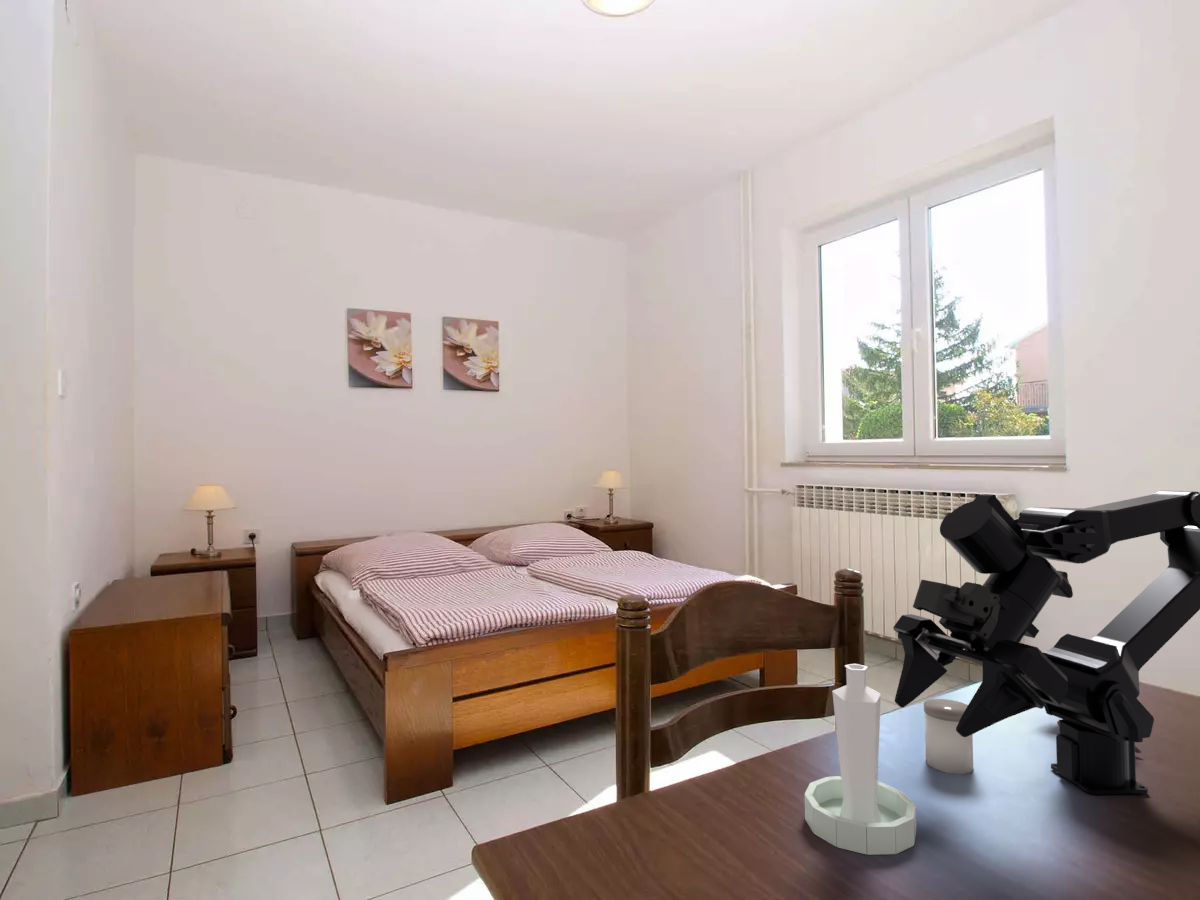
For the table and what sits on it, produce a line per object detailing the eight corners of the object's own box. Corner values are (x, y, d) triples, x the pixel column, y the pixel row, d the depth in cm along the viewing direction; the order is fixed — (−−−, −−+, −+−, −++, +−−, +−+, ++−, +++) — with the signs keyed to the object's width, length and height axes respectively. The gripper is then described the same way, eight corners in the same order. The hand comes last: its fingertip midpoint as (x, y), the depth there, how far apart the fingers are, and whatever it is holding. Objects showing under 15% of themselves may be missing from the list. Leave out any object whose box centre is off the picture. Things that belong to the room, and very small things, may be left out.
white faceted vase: (896, 830, 64) (891, 672, 65) (851, 833, 64) (847, 674, 64) (873, 805, 69) (868, 659, 69) (831, 808, 69) (827, 661, 69)
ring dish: (887, 799, 71) (886, 775, 72) (935, 853, 61) (935, 825, 62) (793, 800, 71) (793, 777, 71) (827, 855, 61) (826, 827, 61)
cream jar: (958, 754, 82) (957, 698, 82) (983, 773, 77) (982, 714, 77) (916, 755, 82) (915, 699, 82) (938, 774, 77) (937, 714, 77)
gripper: (901, 545, 81) (824, 648, 78) (1032, 561, 62) (939, 695, 59) (962, 606, 82) (889, 709, 79) (1108, 638, 64) (1020, 773, 61)
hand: (927, 718), depth 69 cm, fingers open, 9 cm apart
